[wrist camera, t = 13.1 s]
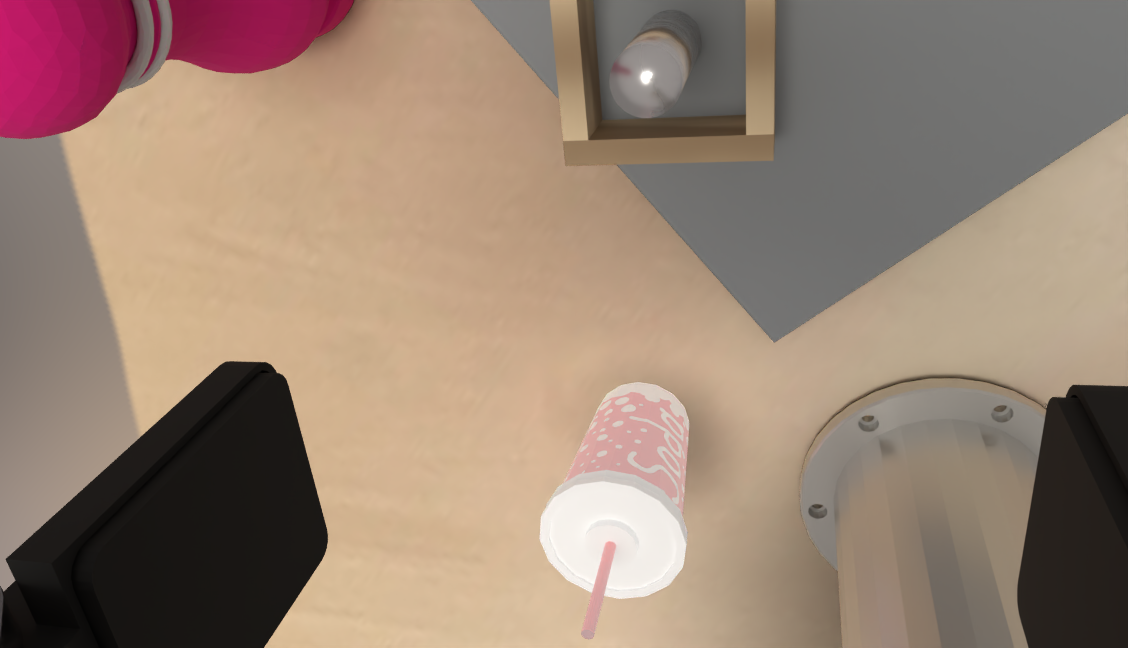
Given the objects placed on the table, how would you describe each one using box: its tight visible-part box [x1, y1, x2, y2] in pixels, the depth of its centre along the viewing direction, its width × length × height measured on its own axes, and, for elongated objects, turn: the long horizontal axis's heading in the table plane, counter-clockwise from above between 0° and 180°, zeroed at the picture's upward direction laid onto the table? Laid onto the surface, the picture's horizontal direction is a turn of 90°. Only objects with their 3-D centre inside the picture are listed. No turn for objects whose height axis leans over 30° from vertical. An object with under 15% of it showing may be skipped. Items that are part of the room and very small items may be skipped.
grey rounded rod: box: [609, 10, 701, 118], centre depth 33 cm, size 2×2×7 cm
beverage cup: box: [540, 382, 689, 639], centre depth 39 cm, size 6×6×14 cm
